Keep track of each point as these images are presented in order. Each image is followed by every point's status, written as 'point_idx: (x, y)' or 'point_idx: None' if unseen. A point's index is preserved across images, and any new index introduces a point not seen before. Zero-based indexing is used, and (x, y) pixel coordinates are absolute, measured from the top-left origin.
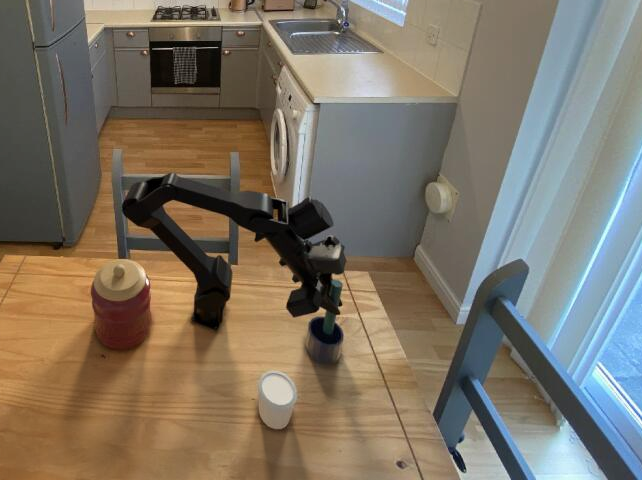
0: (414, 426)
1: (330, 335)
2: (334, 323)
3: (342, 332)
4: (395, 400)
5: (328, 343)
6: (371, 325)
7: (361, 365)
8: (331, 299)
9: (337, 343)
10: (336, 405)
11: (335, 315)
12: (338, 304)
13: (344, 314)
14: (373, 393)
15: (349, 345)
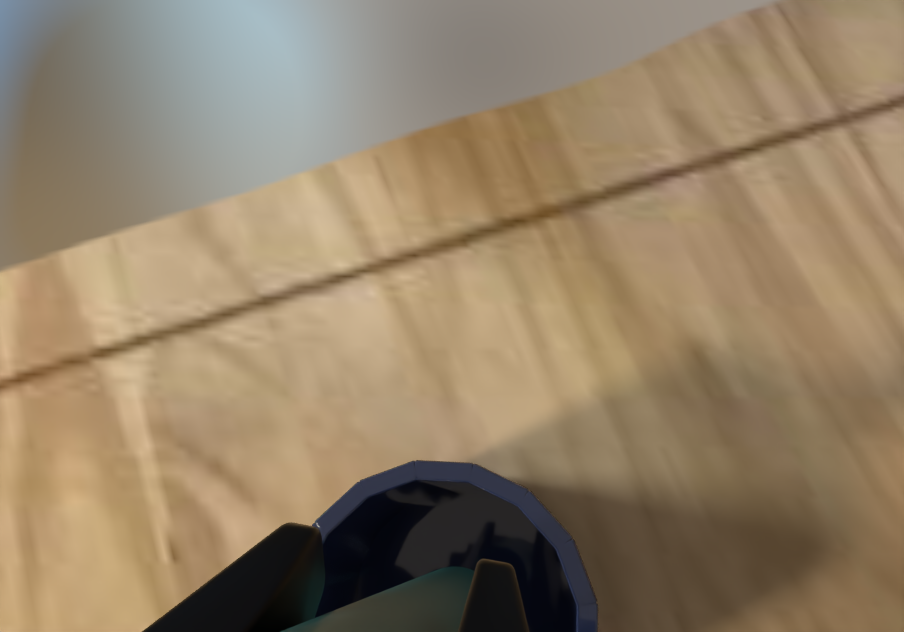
0: (756, 83)
1: (363, 548)
2: (456, 581)
3: (398, 470)
4: (646, 164)
5: (417, 557)
6: (178, 278)
7: (493, 339)
8: None
9: (530, 513)
10: (857, 492)
11: (449, 608)
12: (379, 621)
13: (133, 444)
14: (658, 274)
15: (371, 411)
